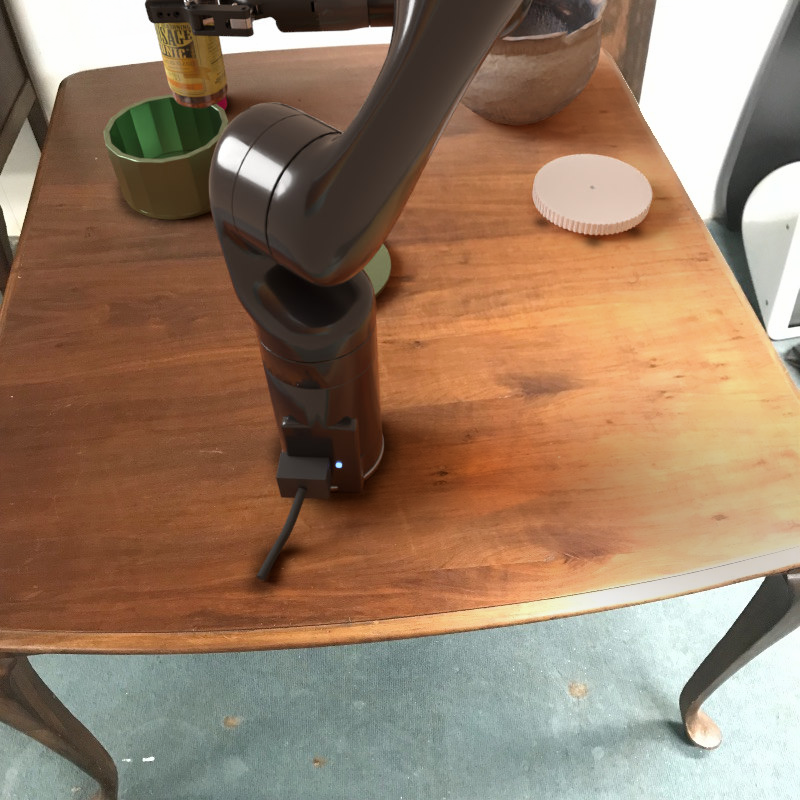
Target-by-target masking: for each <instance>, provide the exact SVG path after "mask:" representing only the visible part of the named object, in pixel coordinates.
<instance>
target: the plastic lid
mask: <svg viewBox="0 0 800 800" xmlns="http://www.w3.org/2000/svg"><path fill="white" fill-rule="evenodd" d="M652 188H653V187H652V186H651V183H650V181H649V180H648V178H647V176H645V175H644V174H642V171H639V169H638V168H636V167H635V166H632V165H631V163H630V164H629V163H628V162H626V161H623V160H622V159H621V160H620V159H618V158H614V157H613V156H609V155H606V156H605V155H603V154H600V155H599V154H597V153H596V154H594V153H580V154H579V153H576V154H571V155H568V154H567V155H566V156H565V155H563V156H561V157H558V158H554V159H553V160H550V162H547V163H546V164H544V165H543V166H541V168H540V169H539V170H538V171H537V172H536V174H535V177H534V179H533V186H532V193H531V195H532V198H531V199H532V202H533V204H534V206H535V209H537V211H538V212H540V215H542V217H543V218H545V219H546V220H547V221H550V223H551V224H554V225H555V226H558V227H559V228H563V230H567V231H569V232H573V233H578V234H584V235H589V236H592V235H594V236H598V235H600V236H604V235H605V236H609V235H614V234H619V233H623V232H624V231H628V230H631V229H632V228H635V227H636V226H638V225H639V224H640V223H642V221H644V220H645V218H646V217H647V215H648V214H649V211H650V208H651V204H652V200H653V189H652Z"/></svg>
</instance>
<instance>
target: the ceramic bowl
mask: <svg viewBox="0 0 800 800" xmlns="http://www.w3.org/2000/svg"><path fill="white" fill-rule="evenodd" d="M610 1H611V0H532V3H531V6H530V8H529V10H528V12H527V14H526V16H525V18H524V20H523V21H522V22H521V24H520V25H519V26H518V27H517V29H516V30H515V31H513V32H512V33H511V34H510V35H508V36H507V37H505V38H503V39H502V40H499V41H497V42H496V43H495V44H494V46H493V48H492V49H491V51H490V52H489V54H488V56H487V57H486V59H485V61H484V62H483V64H482V65H481V67H480V69H479V70H478V72H477V74H476V75H475V77H474V78H473V80H472V81H471V83H470V85H469V87H468V88H467V90H466V92H465V94H464V95H463V97H462V99H461V101H460V102H459V103H461V104H462V105H463V106H465V107H466V108H467V109H468V110H470V111H471V112H473V113H474V114H476V115H478V116H480V117H481V118H484V119H486V120H488V121H491V122H495V123H497V124H503V125H509V126H510V125H511V126H522V125H529V124H530V125H531V124H535V123H539V122H541V121H544V120H546V119H548V118H551V117H554V116H555V115H557V114H559V113H560V112H562V111H563V110H564V109H565V108H566V107H567V106H569V105H570V104H571V103H572V102H573V101H575V100H576V99H577V98H578V97H579V96H580V95H581V94H582V92H583V91H584V90H585V88H586V87H587V86H588V84H589V82H590V80H591V78H592V77H593V75H594V73H595V71H596V69H597V66H598V63H599V60H600V56H601V55H600V53H601V48H602V40H603V39H602V38H603V36H602V35H603V34H602V32H603V31H602V29H603V28H602V22H603V19H604V18H605V16H606V12H607V10H608V7H609V4H610Z"/></svg>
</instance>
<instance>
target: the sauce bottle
mask: <svg viewBox="0 0 800 800" xmlns="http://www.w3.org/2000/svg"><path fill="white" fill-rule="evenodd" d="M203 4H208V2H207V3H203ZM205 25H214V23H209V24H205ZM153 26H154V30H155V32H156V38H157V41H158V46H159V50H160V55H161V59H162V62H163V66H164V67H163V68H164V71H165V75H166V79H167V83H168V87H169V89H170V91H171V94H173V97H174V99H175V100H176V101H177V103H178V104H180V105H182V106H185V107H190V108H198V109H203V108H207V107H209V106H212V105H214V104H217V103H219V102H220V101H221V100H223V99H224V98H225V96H227V93H228V84H227V81H228V78H227V72H226V66H225V61H224V56H223V50H222V45H221V44H222V43H221V39H220V36H195V35H193V33H192V28H191V26H189V23H153Z"/></svg>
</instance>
